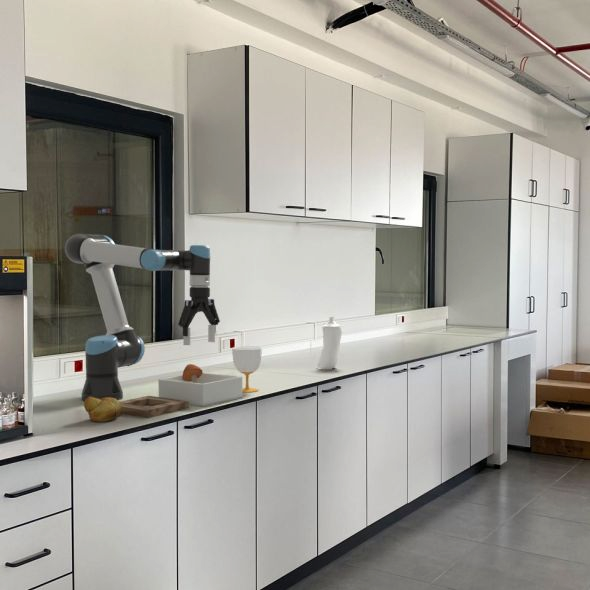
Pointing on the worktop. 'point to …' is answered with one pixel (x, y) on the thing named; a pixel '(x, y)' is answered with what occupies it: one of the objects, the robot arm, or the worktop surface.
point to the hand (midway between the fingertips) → (199, 343)
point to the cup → (247, 362)
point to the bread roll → (102, 408)
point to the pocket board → (152, 406)
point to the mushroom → (192, 373)
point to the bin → (202, 389)
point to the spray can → (330, 345)
